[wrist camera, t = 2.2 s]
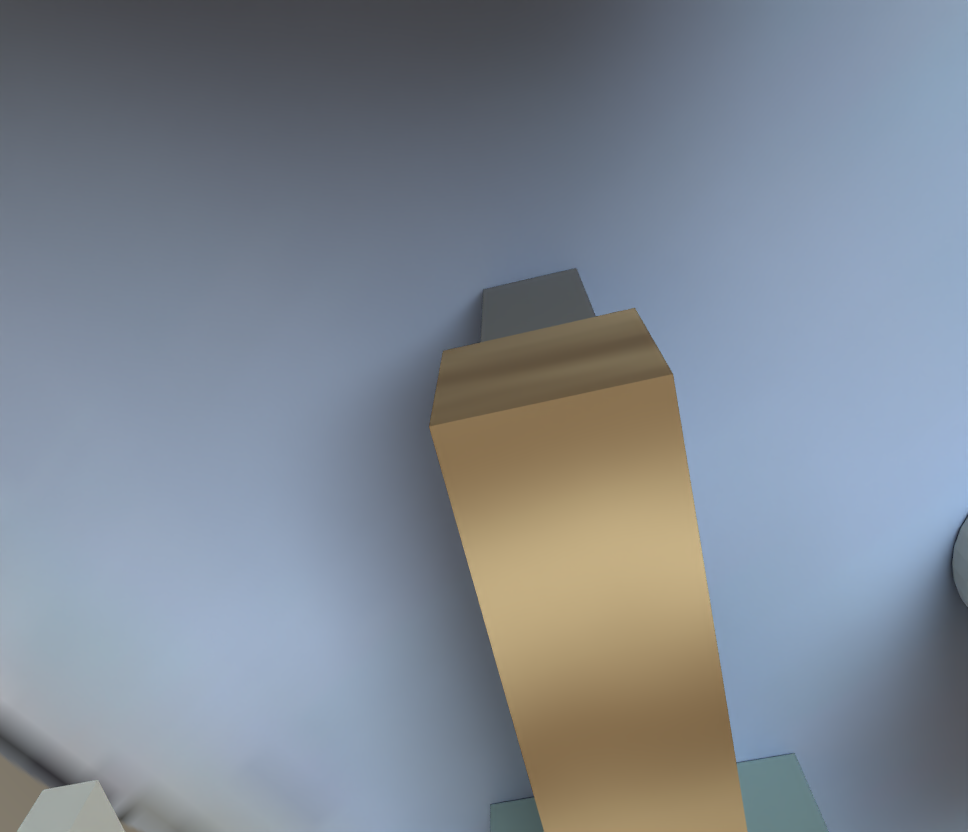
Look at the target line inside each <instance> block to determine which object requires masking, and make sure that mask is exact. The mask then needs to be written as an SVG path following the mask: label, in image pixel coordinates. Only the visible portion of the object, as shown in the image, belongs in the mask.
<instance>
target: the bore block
mask: <svg viewBox="0 0 968 832" xmlns="http://www.w3.org/2000/svg"><path fill="white" fill-rule="evenodd" d="M736 764H737V770H738V776H739V782H740V788H741V795H742V801H743V807H744V813H745V819H746V825H747V831H748V832H829V831H828V829H827V827H826V825H825V822H824V820H823V818H822V815H821V813H820V811H819V808H818V806H817V804H816V802H815V799H814V797H813V795H812V792H811V790H810V788H809V785H808V783H807V781H806V779H805V776H804V774H803V772H802V769H801V767H800V765H799V763H798V760H797V758H796V756H795V753H794V754H788V755H782V756H776V757H770V758H764V759H758V760H752V761H746V762H740V763H736ZM490 832H544V830H543V826H542V823H541V819H540V816H539V812H538V809H537V805H536V802H535V798H534V797H533V798H527V799H521V800H515V801H509V802H503V803H497V804H491V805H490Z"/></svg>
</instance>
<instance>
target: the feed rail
mask: <svg viewBox="0 0 968 832" xmlns="http://www.w3.org/2000/svg"><path fill="white" fill-rule="evenodd" d="M592 317H596V316H595V314H594V311H593V309H592V306H591V304H590V301H589V299H588V296H587V294H586V291H585V289H584V286H583V284H582V281H581V279H580V276H579V274H578V271H577V269H576V268H574V269H570V270H565V271H561V272H557V273H552V274H548V275H544V276H539V277H535V278H531V279H526V280H522V281H518V282H513V283H509V284H505V285H500V286H496V287H492V288H487V289H483V306H482V325H481V342H485V341H489V340H494V339H498V338H503V337H507V336H511V335H516V334H520V333H525V332H529V331H534V330H538V329H543V328H547V327H552V326H556V325H561V324H565V323H570V322H574V321H578V320H583V319H587V318H592Z"/></svg>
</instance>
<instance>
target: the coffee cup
mask: <svg viewBox="0 0 968 832" xmlns="http://www.w3.org/2000/svg"><path fill="white" fill-rule="evenodd" d="M952 566H953V576H954V582H955V584H956V587H957V590H958V593H959V595H960V597H961V599H962V600H963V602H964V603H965V605H966V606H967V607H968V517H967V519H966V520H965V522H964V524H963V525H962V527H961V529H960V532H959V535H958V537H957V540H956V543H955V546H954V554H953V561H952Z"/></svg>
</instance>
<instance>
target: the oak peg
mask: <svg viewBox="0 0 968 832" xmlns="http://www.w3.org/2000/svg"><path fill="white" fill-rule="evenodd" d="M429 428H430V432H431V435H432V439H433V442H434V446H435V450H436V453H437V457H438V460H439V464H440V467H441V471H442V474H443V478H444V481H445V485H446V488H447V492H448V495H449V499H450V502H451V506H452V509H453V513H454V516H455V520H456V523H457V527H458V531H459V534H460V538H461V541H462V545H463V548H464V552H465V555H466V559H467V562H468V566H469V569H470V573H471V576H472V580H473V583H474V587H475V590H476V594H477V597H478V601H479V604H480V608H481V611H482V615H483V619H484V622H485V626H486V629H487V633H488V636H489V640H490V643H491V647H492V650H493V654H494V657H495V661H496V664H497V668H498V671H499V675H500V678H501V682H502V685H503V689H504V692H505V696H506V700H507V703H508V707H509V710H510V714H511V717H512V721H513V724H514V728H515V731H516V735H517V738H518V742H519V745H520V749H521V752H522V756H523V759H524V763H525V766H526V770H527V773H528V777H529V780H530V784H531V788H532V791H533V795H534V798H535V802H536V805H537V809H538V812H539V816H540V819H541V823H542V826H543V830H544V832H748V831H747V825H746V819H745V813H744V807H743V801H742V795H741V788H740V782H739V776H738V770H737V764H736V758H735V752H734V746H733V739H732V733H731V727H730V721H729V715H728V709H727V703H726V696H725V690H724V684H723V678H722V672H721V666H720V660H719V653H718V647H717V641H716V635H715V629H714V623H713V617H712V610H711V604H710V598H709V592H708V586H707V580H706V574H705V568H704V561H703V555H702V549H701V543H700V537H699V531H698V525H697V518H696V512H695V506H694V500H693V494H692V488H691V482H690V475H689V469H688V463H687V457H686V451H685V445H684V439H683V433H682V426H681V420H680V414H679V408H678V402H677V396H676V390H675V383H674V377H673V373H672V372H671V370H670V368H669V366H668V365H667V363H666V361H665V359H664V358H663V356H662V354H661V352H660V351H659V349H658V347H657V346H656V344H655V342H654V340H653V339H652V337H651V335H650V333H649V332H648V330H647V328H646V326H645V325H644V323H643V321H642V320H641V318H640V316H639V314H638V313H637V311H636V309H635V308H632V309H628V310H623V311H619V312H614V313H610V314H605V315H601V316H596V317H592V318H587V319H583V320H578V321H574V322H570V323H565V324H561V325H556V326H552V327H547V328H543V329H538V330H534V331H529V332H525V333H520V334H516V335H511V336H507V337H503V338H498V339H494V340H489V341H485V342H480V343H476V344H471V345H467V346H462V347H458V348H453V349H449V350H444V351H443V353H442V358H441V364H440V369H439V375H438V380H437V386H436V391H435V397H434V402H433V408H432V413H431V418H430V424H429Z"/></svg>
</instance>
